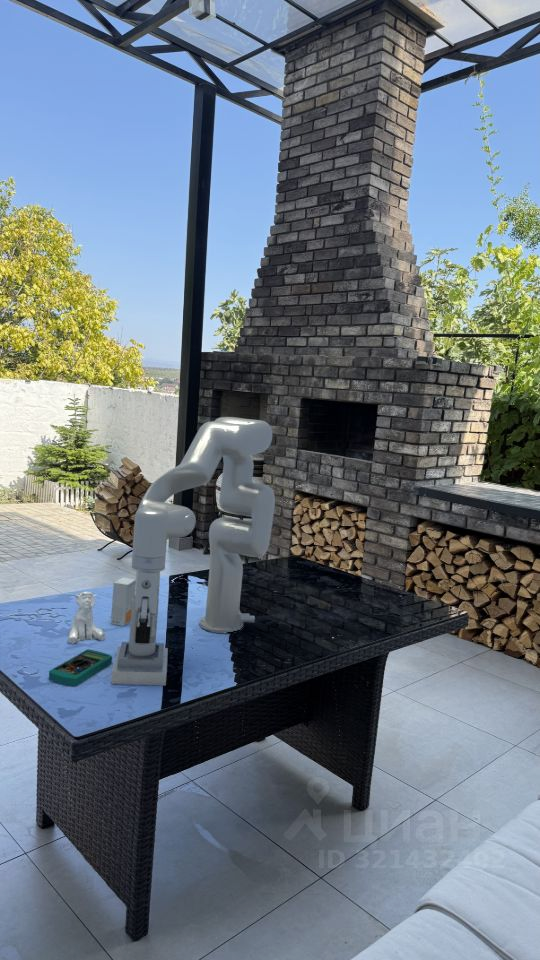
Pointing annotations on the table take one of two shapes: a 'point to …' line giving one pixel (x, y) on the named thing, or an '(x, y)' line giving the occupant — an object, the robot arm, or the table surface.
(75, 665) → the digital multimeter
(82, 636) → the white animal figurine
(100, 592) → the table surface
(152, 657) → the white square stepped base
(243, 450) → the robot arm
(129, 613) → the skincare box
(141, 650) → the energy drink can
